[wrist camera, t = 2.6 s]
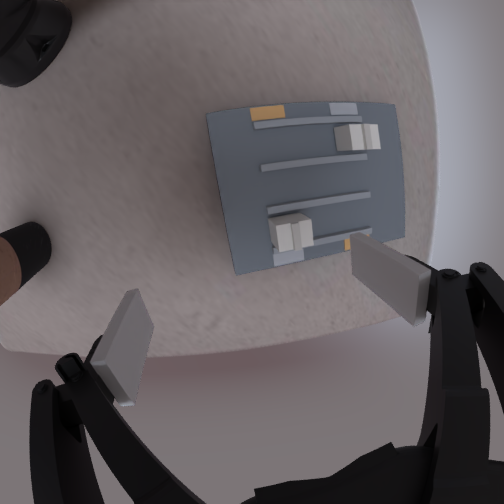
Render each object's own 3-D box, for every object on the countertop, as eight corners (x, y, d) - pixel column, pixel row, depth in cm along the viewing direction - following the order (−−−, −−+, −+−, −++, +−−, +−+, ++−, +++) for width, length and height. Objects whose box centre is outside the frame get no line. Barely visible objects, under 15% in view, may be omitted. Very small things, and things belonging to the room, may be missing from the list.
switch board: (234, 269, 36) (236, 278, 33) (206, 116, 29) (205, 111, 27) (397, 233, 39) (408, 238, 36) (386, 106, 32) (399, 103, 29)
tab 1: (271, 242, 33) (281, 254, 29) (267, 218, 32) (277, 227, 28) (302, 235, 34) (315, 246, 29) (299, 212, 33) (313, 220, 28)
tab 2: (336, 150, 31) (355, 150, 27) (333, 127, 30) (351, 123, 26) (363, 149, 31) (383, 148, 27) (360, 126, 30) (380, 123, 26)
